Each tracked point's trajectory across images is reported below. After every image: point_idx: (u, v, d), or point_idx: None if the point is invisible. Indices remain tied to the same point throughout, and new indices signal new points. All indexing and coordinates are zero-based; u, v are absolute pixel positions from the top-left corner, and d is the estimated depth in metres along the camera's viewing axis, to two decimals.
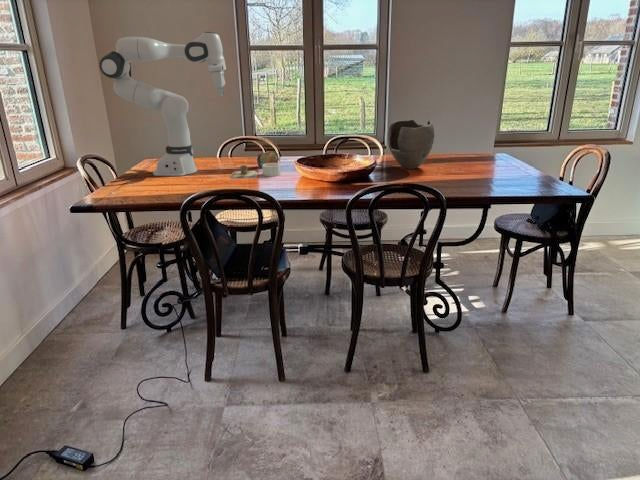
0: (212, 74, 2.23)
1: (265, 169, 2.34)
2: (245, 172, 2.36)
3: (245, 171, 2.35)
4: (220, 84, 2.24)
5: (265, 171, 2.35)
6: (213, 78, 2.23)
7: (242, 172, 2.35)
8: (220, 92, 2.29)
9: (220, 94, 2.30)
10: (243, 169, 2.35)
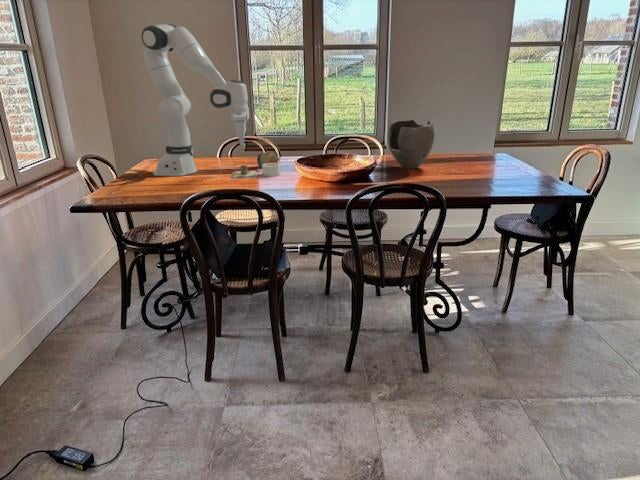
0: (235, 123, 2.19)
1: (265, 169, 2.34)
2: (245, 172, 2.36)
3: (245, 171, 2.35)
4: (242, 134, 2.20)
5: (265, 171, 2.35)
6: (236, 127, 2.19)
7: (242, 172, 2.35)
8: (241, 141, 2.25)
9: (241, 143, 2.26)
10: (243, 169, 2.35)
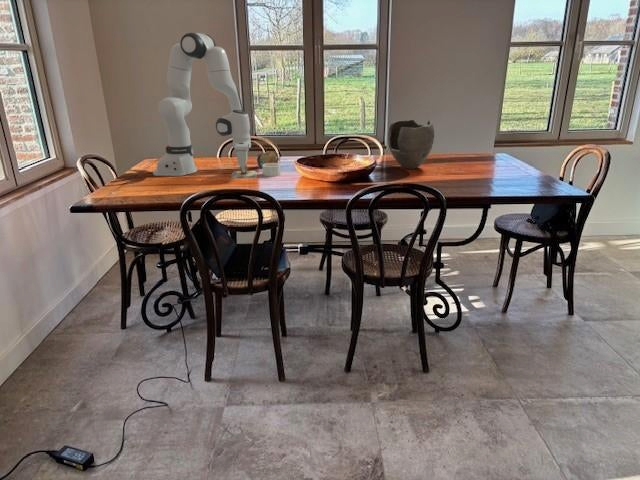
0: (237, 153, 2.24)
1: (265, 169, 2.34)
2: (245, 172, 2.36)
3: (245, 171, 2.35)
4: (244, 163, 2.25)
5: (265, 171, 2.35)
6: (238, 157, 2.24)
7: (242, 172, 2.35)
8: (243, 168, 2.33)
9: (243, 170, 2.34)
10: None
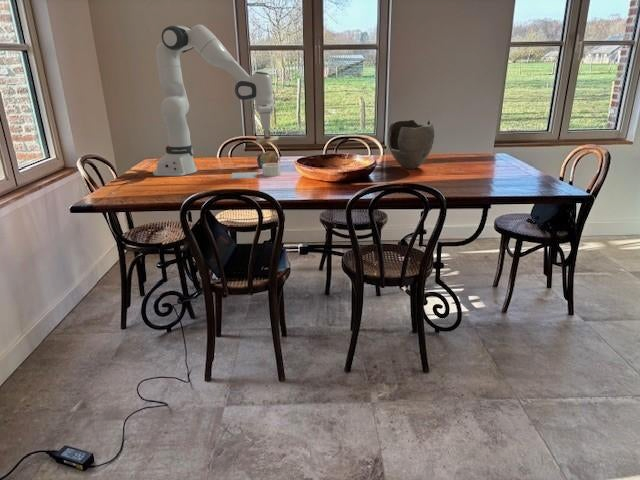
0: (261, 115, 2.19)
1: (265, 169, 2.34)
2: (268, 137, 2.30)
3: None
4: (268, 126, 2.20)
5: (265, 171, 2.35)
6: (262, 119, 2.19)
7: (265, 137, 2.30)
8: (266, 132, 2.27)
9: (266, 134, 2.28)
10: None
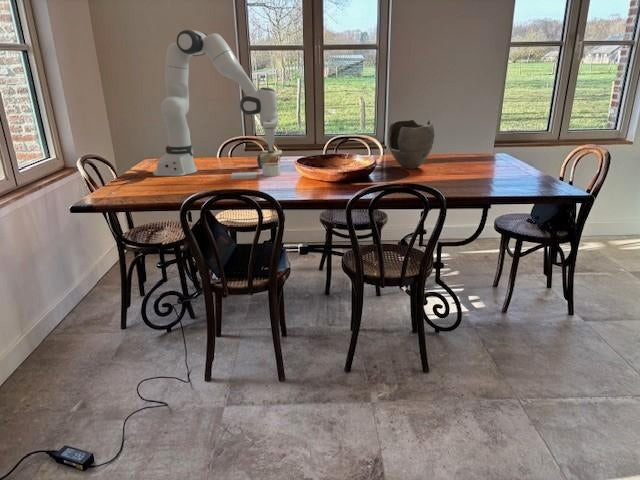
0: (265, 130, 2.22)
1: (265, 169, 2.34)
2: (272, 151, 2.33)
3: (272, 150, 2.33)
4: (272, 141, 2.23)
5: (265, 171, 2.35)
6: (266, 134, 2.22)
7: (269, 151, 2.33)
8: (270, 147, 2.31)
9: (270, 148, 2.31)
10: None
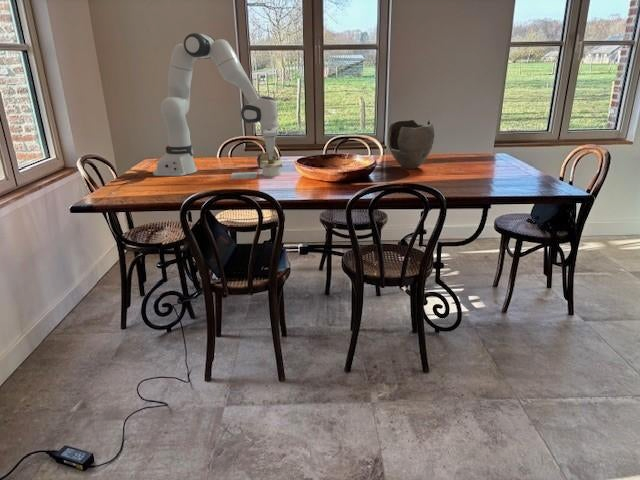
0: (266, 139, 2.23)
1: (265, 169, 2.34)
2: (272, 161, 2.35)
3: (272, 160, 2.35)
4: (272, 149, 2.24)
5: (265, 171, 2.35)
6: (266, 143, 2.23)
7: (269, 161, 2.35)
8: (270, 155, 2.31)
9: (270, 157, 2.32)
10: None
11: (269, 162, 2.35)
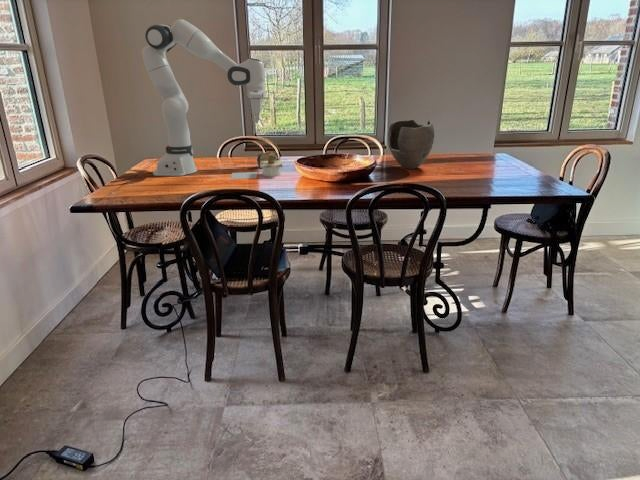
0: (252, 101, 2.23)
1: (265, 169, 2.34)
2: (272, 161, 2.35)
3: (272, 160, 2.35)
4: (258, 111, 2.25)
5: (265, 171, 2.35)
6: (252, 105, 2.23)
7: (269, 161, 2.35)
8: (256, 119, 2.30)
9: (256, 120, 2.30)
10: (270, 158, 2.34)
11: (269, 162, 2.35)
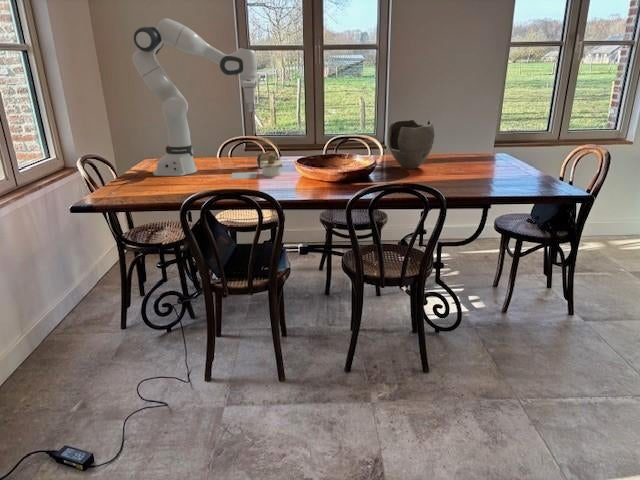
0: (245, 89, 2.25)
1: (265, 169, 2.34)
2: (272, 161, 2.35)
3: (272, 160, 2.35)
4: (252, 100, 2.26)
5: (265, 171, 2.35)
6: (246, 93, 2.25)
7: (269, 161, 2.35)
8: (250, 107, 2.32)
9: (250, 109, 2.32)
10: (270, 158, 2.34)
11: (269, 162, 2.35)
